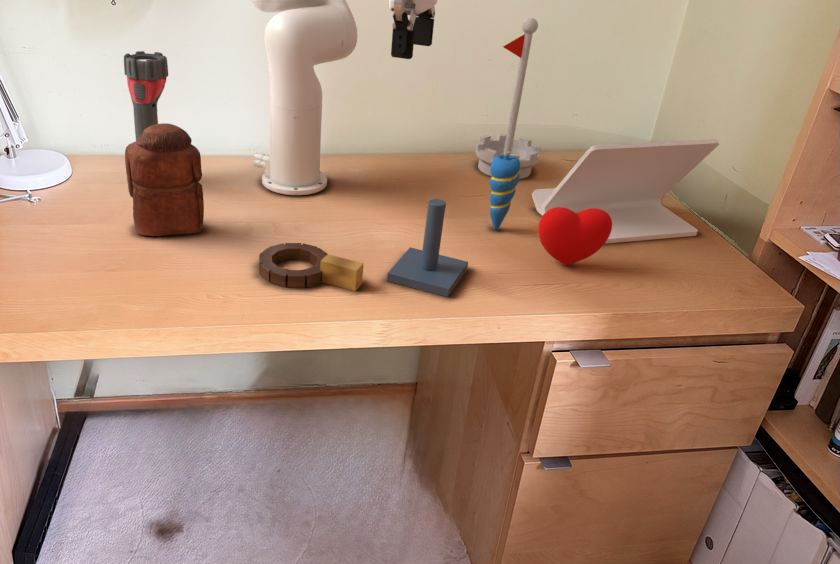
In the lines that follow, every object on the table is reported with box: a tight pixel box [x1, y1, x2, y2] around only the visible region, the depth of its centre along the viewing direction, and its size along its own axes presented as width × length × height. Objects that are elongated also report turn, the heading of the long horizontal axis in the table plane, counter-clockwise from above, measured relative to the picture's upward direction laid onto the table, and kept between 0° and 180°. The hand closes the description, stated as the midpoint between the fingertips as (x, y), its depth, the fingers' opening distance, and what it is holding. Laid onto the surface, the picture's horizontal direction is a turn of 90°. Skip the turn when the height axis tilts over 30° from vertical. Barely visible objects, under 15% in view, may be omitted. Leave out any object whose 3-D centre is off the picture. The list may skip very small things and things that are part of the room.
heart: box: [537, 207, 612, 266], centre depth 126 cm, size 12×5×10 cm, turn 92°
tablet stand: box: [531, 138, 720, 244], centre depth 140 cm, size 18×25×17 cm
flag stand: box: [474, 17, 542, 180], centre depth 155 cm, size 13×13×30 cm
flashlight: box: [123, 50, 169, 141], centre depth 143 cm, size 8×8×23 cm
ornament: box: [489, 148, 520, 231], centre depth 134 cm, size 5×5×15 cm
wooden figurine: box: [124, 122, 205, 237], centre depth 127 cm, size 12×6×18 cm, turn 106°
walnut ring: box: [258, 242, 364, 292], centre depth 120 cm, size 16×11×4 cm, turn 66°
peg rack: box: [386, 198, 469, 298], centre depth 119 cm, size 10×10×12 cm
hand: (411, 51), depth 119 cm, fingers open, 9 cm apart
